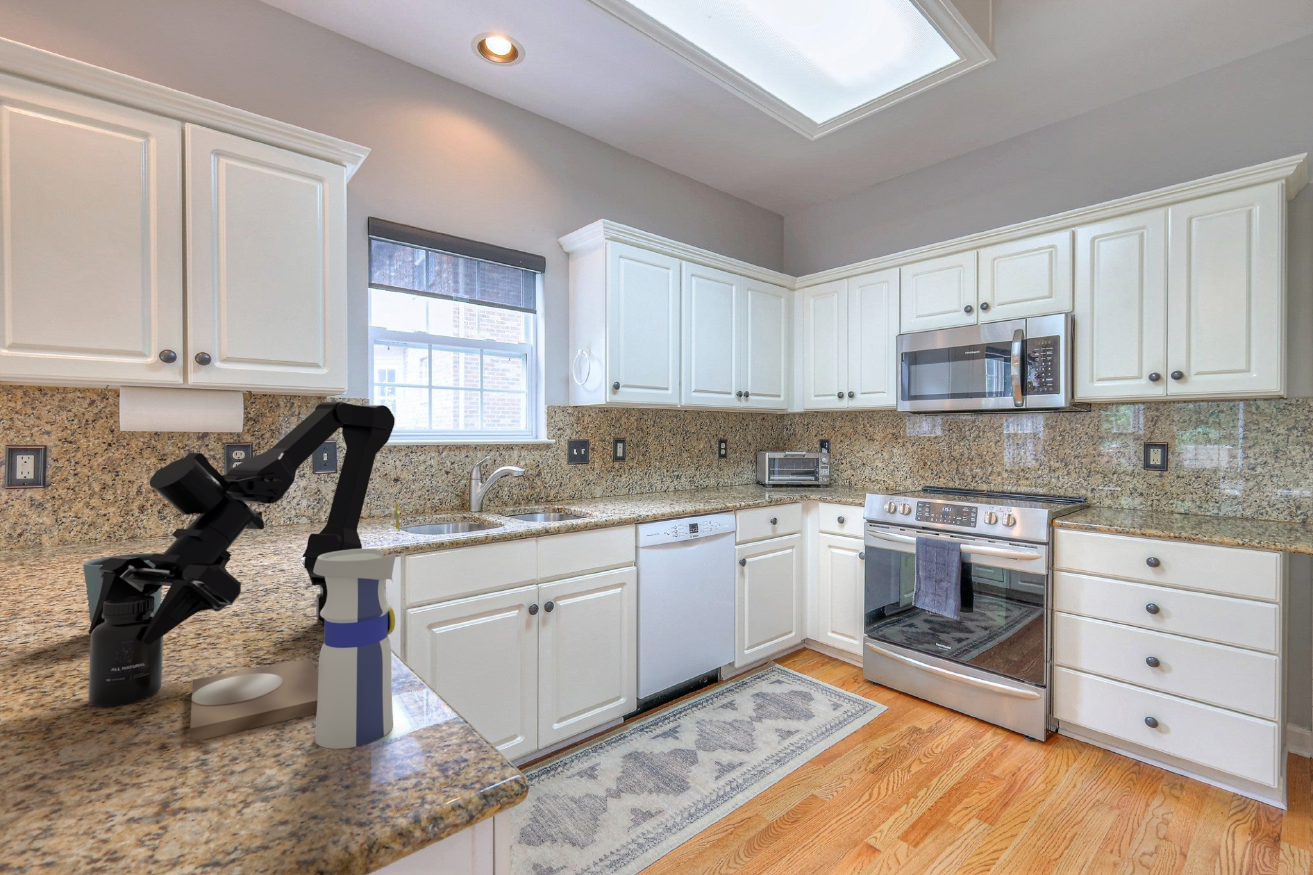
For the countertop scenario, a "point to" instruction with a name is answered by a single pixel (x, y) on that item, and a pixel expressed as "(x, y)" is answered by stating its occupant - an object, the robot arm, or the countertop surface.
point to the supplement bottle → (124, 654)
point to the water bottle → (355, 648)
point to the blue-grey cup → (95, 580)
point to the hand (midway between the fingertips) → (118, 639)
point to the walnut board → (252, 698)
